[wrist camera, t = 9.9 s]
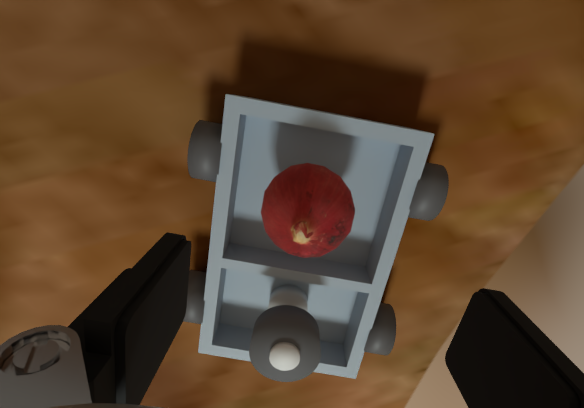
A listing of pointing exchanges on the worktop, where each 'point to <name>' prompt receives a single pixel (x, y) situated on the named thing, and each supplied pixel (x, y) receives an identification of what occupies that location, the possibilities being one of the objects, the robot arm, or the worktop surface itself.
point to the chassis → (313, 270)
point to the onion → (307, 210)
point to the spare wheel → (285, 343)
